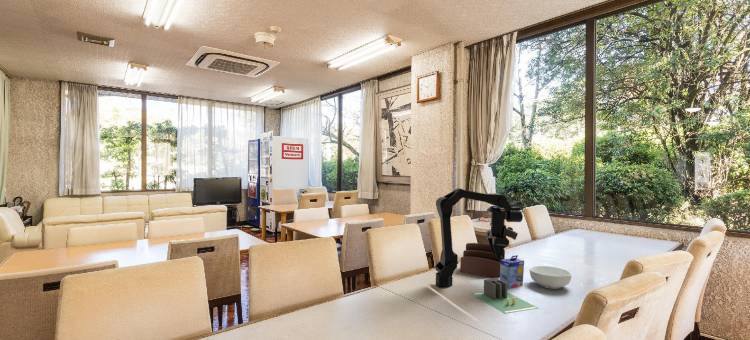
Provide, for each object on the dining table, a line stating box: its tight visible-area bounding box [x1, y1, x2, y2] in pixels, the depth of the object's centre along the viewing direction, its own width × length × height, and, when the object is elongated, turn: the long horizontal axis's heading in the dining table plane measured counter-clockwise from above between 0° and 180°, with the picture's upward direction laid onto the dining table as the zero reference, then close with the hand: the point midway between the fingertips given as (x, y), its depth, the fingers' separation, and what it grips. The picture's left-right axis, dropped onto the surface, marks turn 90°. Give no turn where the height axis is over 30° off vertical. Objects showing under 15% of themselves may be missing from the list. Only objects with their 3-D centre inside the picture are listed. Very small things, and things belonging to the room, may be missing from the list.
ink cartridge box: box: [499, 254, 525, 289], centre depth 156 cm, size 10×6×14 cm, turn 118°
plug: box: [483, 277, 508, 300], centre depth 142 cm, size 6×6×6 cm
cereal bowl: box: [529, 265, 572, 290], centre depth 158 cm, size 17×17×7 cm
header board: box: [471, 291, 540, 314], centre depth 138 cm, size 16×20×3 cm
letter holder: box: [459, 242, 506, 279], centre depth 176 cm, size 10×20×14 cm, turn 59°
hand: (496, 256), depth 156 cm, fingers open, 9 cm apart
